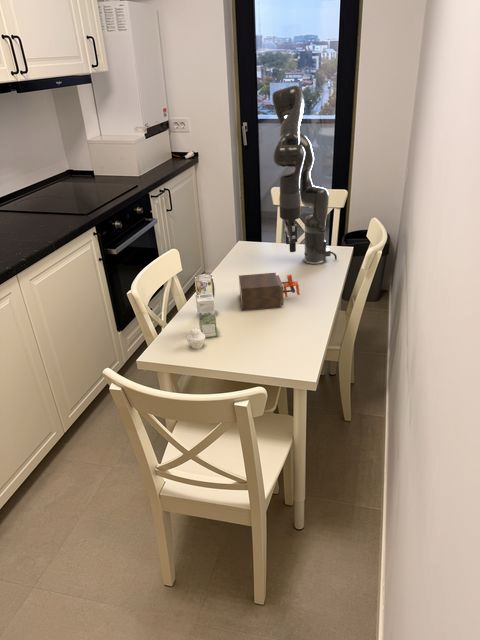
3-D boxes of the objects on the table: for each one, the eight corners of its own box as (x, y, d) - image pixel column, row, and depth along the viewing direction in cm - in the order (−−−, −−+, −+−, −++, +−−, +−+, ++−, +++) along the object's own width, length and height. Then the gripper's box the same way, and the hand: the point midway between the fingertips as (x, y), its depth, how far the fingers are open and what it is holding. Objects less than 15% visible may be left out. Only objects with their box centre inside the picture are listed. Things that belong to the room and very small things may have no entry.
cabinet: (276, 293, 201) (275, 272, 197) (280, 307, 191) (279, 285, 186) (240, 296, 200) (238, 275, 196) (242, 310, 190) (241, 288, 185)
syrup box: (215, 328, 178) (211, 291, 171) (217, 336, 173) (214, 299, 166) (199, 331, 177) (195, 294, 170) (201, 339, 172) (197, 301, 165)
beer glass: (220, 313, 188) (217, 276, 180) (207, 320, 184) (203, 283, 176) (208, 308, 192) (204, 272, 184) (194, 314, 188) (190, 278, 180)
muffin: (190, 341, 171) (188, 323, 168) (207, 342, 171) (205, 324, 167) (186, 351, 166) (183, 332, 162) (204, 351, 165) (202, 333, 162)
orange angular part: (298, 291, 197) (295, 272, 192) (299, 294, 194) (297, 275, 190) (284, 294, 197) (281, 275, 192) (285, 297, 194) (282, 278, 190)
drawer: (291, 290, 201) (291, 274, 197) (295, 303, 191) (295, 285, 187) (245, 294, 199) (244, 277, 196) (248, 307, 190) (247, 289, 186)
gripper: (304, 209, 172) (304, 253, 181) (296, 198, 184) (297, 240, 193) (282, 211, 171) (283, 255, 180) (276, 199, 183) (278, 242, 192)
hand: (290, 247), depth 186 cm, fingers open, 8 cm apart
